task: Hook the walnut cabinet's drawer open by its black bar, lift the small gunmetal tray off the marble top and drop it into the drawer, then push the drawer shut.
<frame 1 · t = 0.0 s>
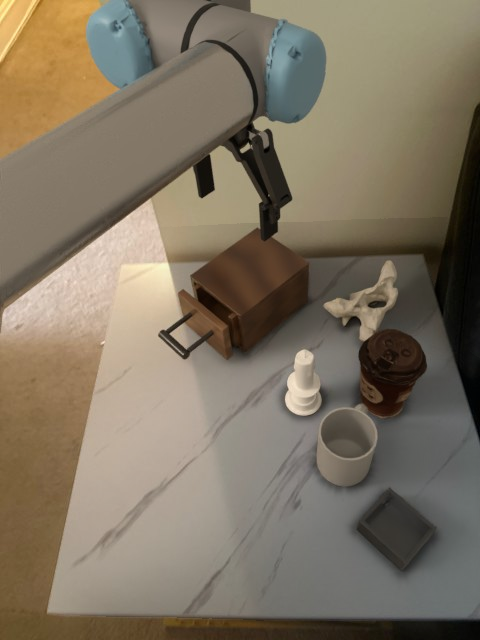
hand: (237, 213, 83), 17 cm above the table, tool pointing down, fingers open, 13 cm apart
cup: (346, 454, 78), on the table
drawer: (219, 313, 88), point 5 cm above the table, slide at 2.0 cm
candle: (303, 400, 83), on the table
coffee cup: (380, 400, 83), on the table
cabinet: (252, 307, 95), on the table
bone: (360, 316, 92), on the table
tray: (393, 532, 71), on the table
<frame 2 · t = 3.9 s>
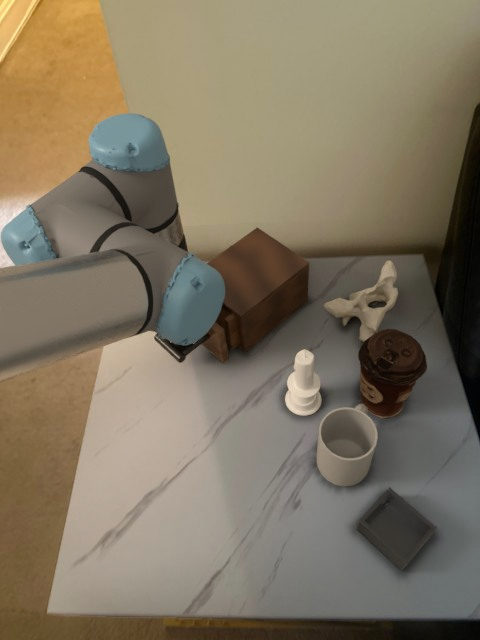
hand: (183, 349, 87), 3 cm above the table, tool pointing down, fingers closed
drawer: (216, 316, 88), point 5 cm above the table, slide at 2.8 cm, touching gripper
everything else where it was.
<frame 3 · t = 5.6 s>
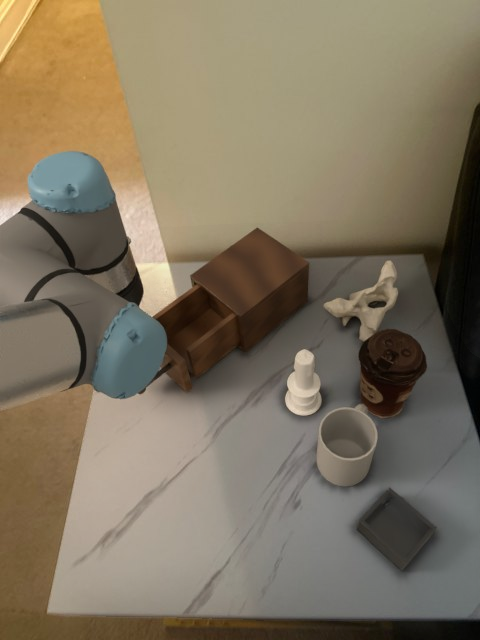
hand: (146, 380, 84), 2 cm above the table, tool pointing down, fingers closed
drawer: (179, 344, 85), point 5 cm above the table, slide at 10.2 cm
everything else where it was.
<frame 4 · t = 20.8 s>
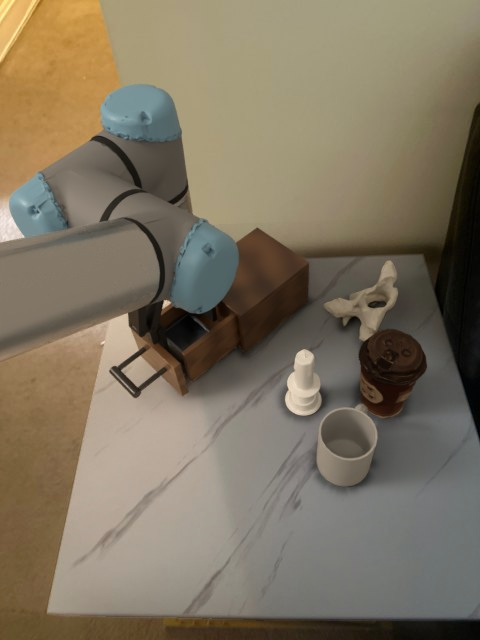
hand: (186, 332, 85), 6 cm above the table, tool pointing down, fingers open, 8 cm apart
drawer: (175, 347, 85), point 5 cm above the table, slide at 11.1 cm, touching gripper, tray
tray: (191, 347, 88), point 2 cm above the table, touching drawer
everything else where it was.
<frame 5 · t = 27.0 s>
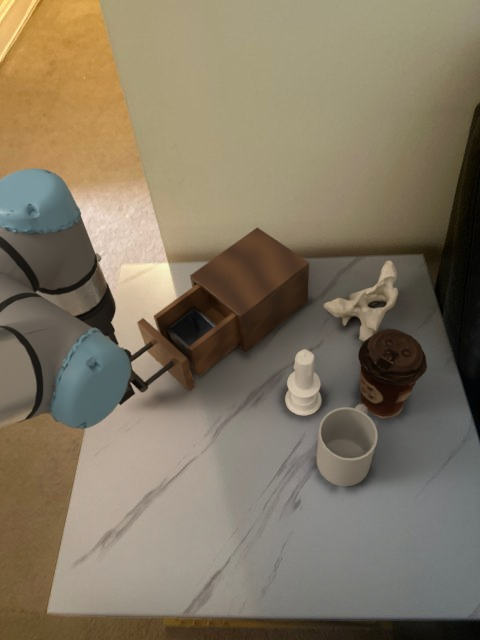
hand: (124, 396, 83), 3 cm above the table, tool pointing down, fingers closed
drawer: (181, 342, 85), point 5 cm above the table, slide at 9.8 cm, touching gripper, tray
tray: (197, 342, 88), point 2 cm above the table, touching drawer
everything else where it was.
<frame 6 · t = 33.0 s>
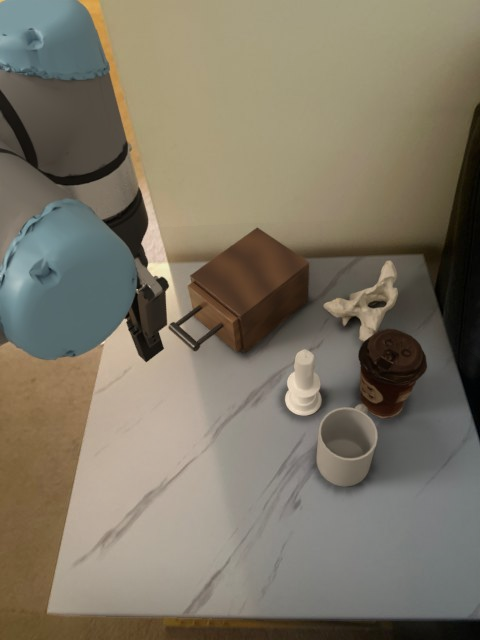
hand: (151, 351, 67), 19 cm above the table, tool pointing down, fingers closed
drawer: (229, 306, 89), point 5 cm above the table, slide at 0.0 cm, touching tray
tray: (242, 307, 92), point 2 cm above the table, touching drawer
everything else where it was.
at the end: tray inside the target area in the cabinet (2.2 cm from its centre), point 2.0 cm above the cabinet's base; drawer slide at 0.0 cm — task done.
